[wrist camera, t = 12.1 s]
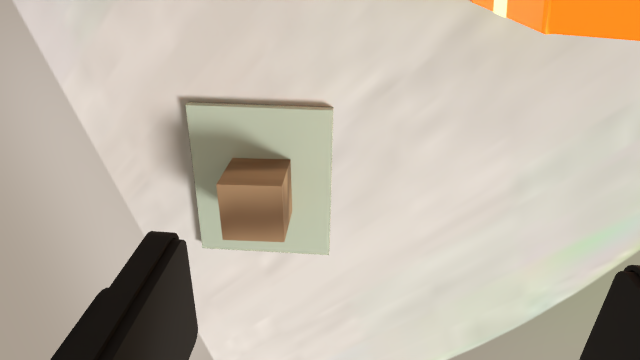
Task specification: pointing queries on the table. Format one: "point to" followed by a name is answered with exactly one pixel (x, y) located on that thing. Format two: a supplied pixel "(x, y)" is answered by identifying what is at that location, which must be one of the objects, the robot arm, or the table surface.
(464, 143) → the table surface
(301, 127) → the sage board
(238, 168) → the walnut cube
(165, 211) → the table surface
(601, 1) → the orange juice
